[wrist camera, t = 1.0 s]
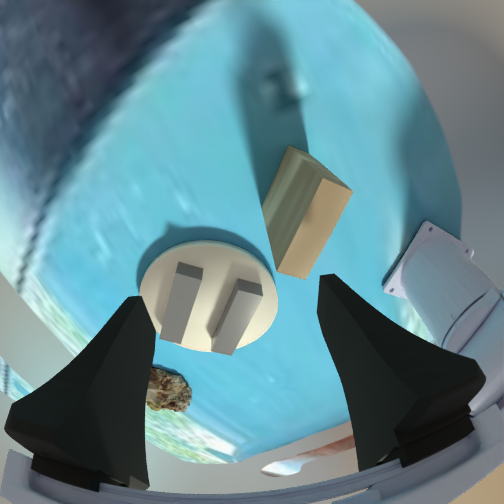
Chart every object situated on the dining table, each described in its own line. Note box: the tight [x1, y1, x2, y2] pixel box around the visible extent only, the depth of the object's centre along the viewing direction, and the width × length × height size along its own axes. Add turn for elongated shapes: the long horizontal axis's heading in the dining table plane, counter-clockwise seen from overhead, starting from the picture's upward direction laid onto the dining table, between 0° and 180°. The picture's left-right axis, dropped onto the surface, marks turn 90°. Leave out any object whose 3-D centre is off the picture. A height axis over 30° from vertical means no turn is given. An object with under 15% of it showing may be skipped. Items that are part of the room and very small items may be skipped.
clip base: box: [139, 240, 278, 356], centre depth 24 cm, size 12×12×2 cm
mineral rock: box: [146, 368, 192, 412], centre depth 31 cm, size 11×4×8 cm
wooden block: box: [261, 145, 353, 280], centre depth 16 cm, size 2×5×8 cm, turn 159°
